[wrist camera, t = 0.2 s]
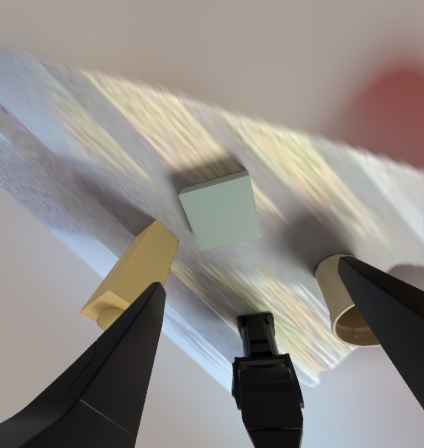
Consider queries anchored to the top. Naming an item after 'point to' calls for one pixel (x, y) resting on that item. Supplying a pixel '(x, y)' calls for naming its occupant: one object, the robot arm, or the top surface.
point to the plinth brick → (222, 211)
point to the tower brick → (133, 274)
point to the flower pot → (343, 307)
